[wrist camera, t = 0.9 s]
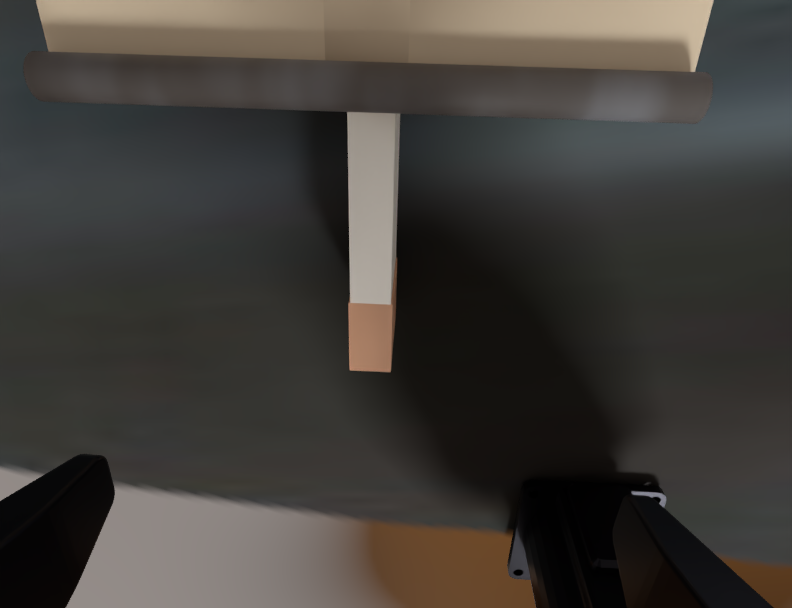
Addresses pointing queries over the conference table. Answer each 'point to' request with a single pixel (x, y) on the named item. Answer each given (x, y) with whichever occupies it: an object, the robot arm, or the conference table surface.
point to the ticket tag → (372, 237)
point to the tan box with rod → (381, 56)
